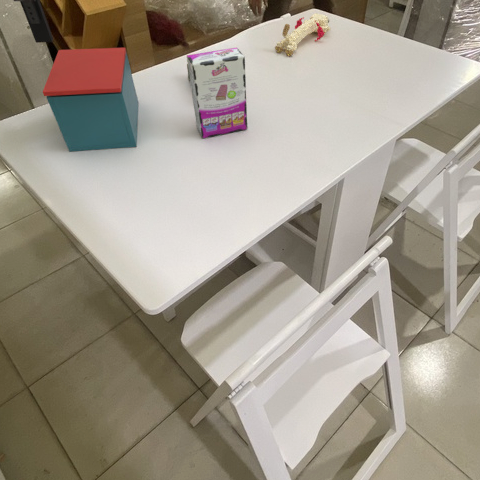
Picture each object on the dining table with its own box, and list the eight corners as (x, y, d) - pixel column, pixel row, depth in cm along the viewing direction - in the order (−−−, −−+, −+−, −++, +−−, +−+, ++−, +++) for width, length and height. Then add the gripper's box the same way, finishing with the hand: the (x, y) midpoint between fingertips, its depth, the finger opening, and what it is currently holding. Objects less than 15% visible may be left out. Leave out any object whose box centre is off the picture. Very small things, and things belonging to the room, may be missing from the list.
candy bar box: (240, 119, 96) (237, 46, 84) (247, 129, 94) (246, 56, 81) (195, 128, 93) (185, 53, 80) (201, 139, 90) (192, 64, 78)
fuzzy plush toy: (297, 63, 119) (337, 29, 131) (298, 31, 112) (340, -1, 123) (269, 54, 122) (311, 22, 134) (268, 23, 115) (313, -8, 127)
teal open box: (136, 146, 88) (122, 93, 78) (69, 151, 86) (46, 97, 76) (138, 102, 99) (126, 51, 90) (79, 106, 97) (60, 54, 88)
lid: (121, 92, 77) (120, 88, 77) (44, 96, 75) (42, 91, 75) (126, 51, 90) (125, 47, 89) (60, 53, 88) (58, 49, 87)
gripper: (-44, -158, 57) (28, 26, 75) (-74, -145, 49) (15, 57, 67) (13, -155, 58) (70, 25, 76) (-7, -142, 50) (62, 56, 69)
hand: (44, 40), depth 72 cm, fingers closed
